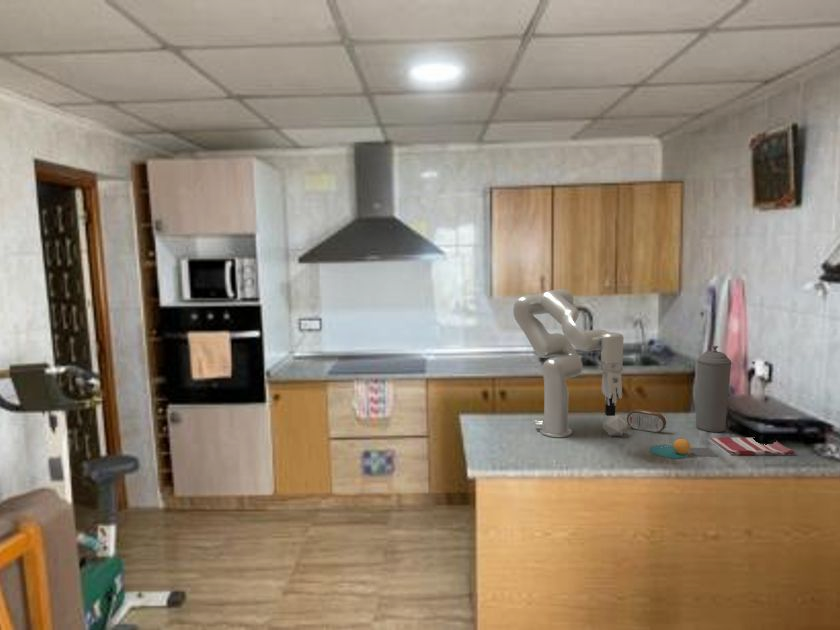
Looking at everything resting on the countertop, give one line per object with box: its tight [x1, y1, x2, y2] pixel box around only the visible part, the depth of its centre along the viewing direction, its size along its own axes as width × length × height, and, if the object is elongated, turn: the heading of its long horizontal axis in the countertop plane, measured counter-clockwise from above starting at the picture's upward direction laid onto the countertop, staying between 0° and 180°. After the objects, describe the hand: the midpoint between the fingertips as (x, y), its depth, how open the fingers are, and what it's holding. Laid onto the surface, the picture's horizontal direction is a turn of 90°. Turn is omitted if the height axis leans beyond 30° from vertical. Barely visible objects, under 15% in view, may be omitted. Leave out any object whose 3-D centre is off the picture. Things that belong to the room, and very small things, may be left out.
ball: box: [673, 438, 692, 454], centre depth 203 cm, size 6×6×6 cm
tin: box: [626, 408, 667, 434], centre depth 229 cm, size 15×3×8 cm, turn 58°
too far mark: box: [689, 447, 719, 457], centre depth 205 cm, size 8×8×1 cm
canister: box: [695, 345, 733, 433], centre depth 229 cm, size 13×13×35 cm
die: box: [602, 414, 628, 437], centre depth 225 cm, size 8×9×10 cm
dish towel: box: [708, 436, 795, 457], centre depth 209 cm, size 17×23×3 cm
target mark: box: [649, 444, 689, 460], centre depth 206 cm, size 13×13×1 cm
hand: (610, 415), depth 205 cm, fingers closed
